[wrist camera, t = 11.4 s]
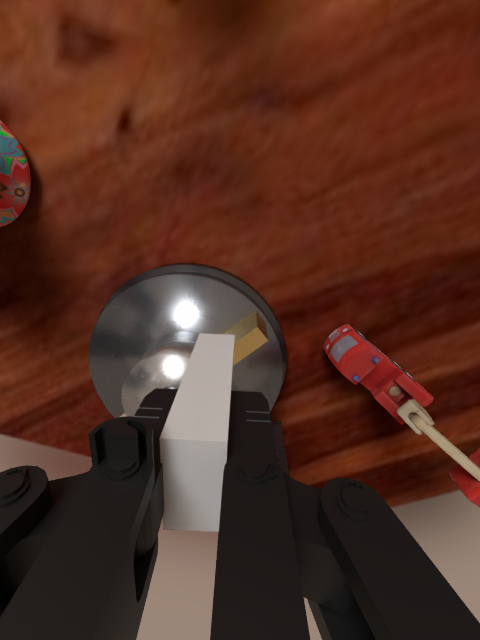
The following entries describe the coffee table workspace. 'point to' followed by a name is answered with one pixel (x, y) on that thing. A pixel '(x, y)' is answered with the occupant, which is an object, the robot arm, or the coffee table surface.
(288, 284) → the coffee table surface
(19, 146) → the mug
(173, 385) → the cover
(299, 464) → the coffee table surface
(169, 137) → the coffee table surface
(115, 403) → the turntable
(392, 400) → the toy fire truck
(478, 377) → the coffee table surface
